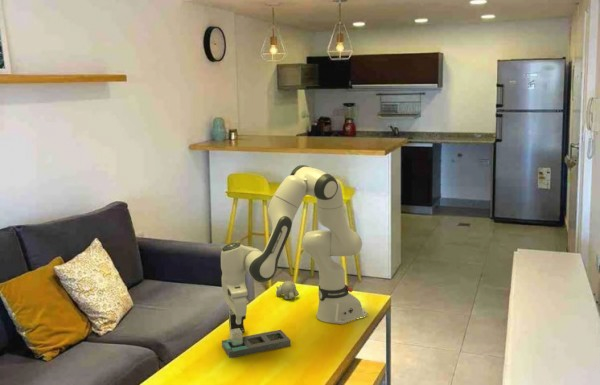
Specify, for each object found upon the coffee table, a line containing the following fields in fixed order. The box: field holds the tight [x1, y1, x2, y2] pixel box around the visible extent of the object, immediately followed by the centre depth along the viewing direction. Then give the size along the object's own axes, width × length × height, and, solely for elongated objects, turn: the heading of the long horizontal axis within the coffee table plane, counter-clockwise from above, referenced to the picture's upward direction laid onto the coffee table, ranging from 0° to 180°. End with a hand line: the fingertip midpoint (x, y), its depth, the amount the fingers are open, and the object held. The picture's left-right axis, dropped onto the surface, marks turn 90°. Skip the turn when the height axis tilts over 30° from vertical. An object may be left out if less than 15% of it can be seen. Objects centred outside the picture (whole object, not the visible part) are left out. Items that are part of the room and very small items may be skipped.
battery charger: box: [228, 313, 247, 335], centre depth 248 cm, size 7×4×11 cm, turn 140°
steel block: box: [228, 328, 243, 348], centre depth 234 cm, size 4×4×8 cm
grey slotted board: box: [221, 329, 292, 359], centre depth 237 cm, size 25×11×3 cm, turn 112°
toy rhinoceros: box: [275, 280, 300, 301], centre depth 288 cm, size 7×12×8 cm, turn 52°
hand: (235, 318), depth 232 cm, fingers open, 8 cm apart
